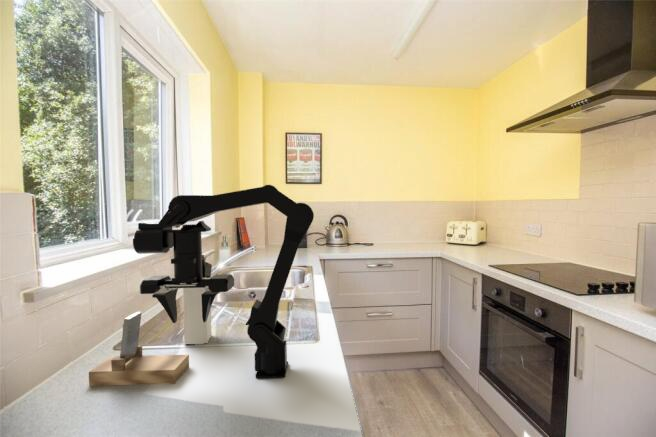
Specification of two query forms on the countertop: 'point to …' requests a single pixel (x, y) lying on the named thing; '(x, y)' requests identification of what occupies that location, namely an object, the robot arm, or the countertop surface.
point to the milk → (195, 317)
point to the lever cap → (130, 336)
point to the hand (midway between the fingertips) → (190, 322)
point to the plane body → (139, 370)
